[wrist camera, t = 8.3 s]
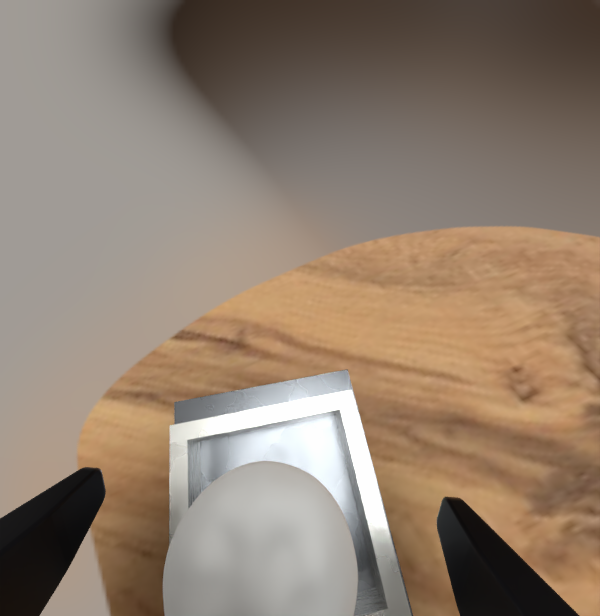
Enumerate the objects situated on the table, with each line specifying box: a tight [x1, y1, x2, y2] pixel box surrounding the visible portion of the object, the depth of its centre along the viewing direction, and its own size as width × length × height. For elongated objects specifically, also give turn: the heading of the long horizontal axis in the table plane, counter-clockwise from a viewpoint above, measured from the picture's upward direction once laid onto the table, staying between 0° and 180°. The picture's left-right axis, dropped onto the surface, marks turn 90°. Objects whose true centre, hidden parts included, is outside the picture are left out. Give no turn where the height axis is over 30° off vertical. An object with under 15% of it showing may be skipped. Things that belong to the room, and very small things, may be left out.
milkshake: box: [163, 461, 358, 616], centre depth 10 cm, size 4×5×10 cm
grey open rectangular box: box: [169, 370, 413, 616], centre depth 15 cm, size 12×10×5 cm
